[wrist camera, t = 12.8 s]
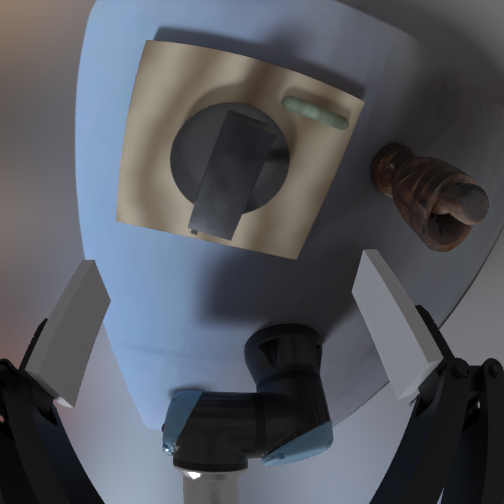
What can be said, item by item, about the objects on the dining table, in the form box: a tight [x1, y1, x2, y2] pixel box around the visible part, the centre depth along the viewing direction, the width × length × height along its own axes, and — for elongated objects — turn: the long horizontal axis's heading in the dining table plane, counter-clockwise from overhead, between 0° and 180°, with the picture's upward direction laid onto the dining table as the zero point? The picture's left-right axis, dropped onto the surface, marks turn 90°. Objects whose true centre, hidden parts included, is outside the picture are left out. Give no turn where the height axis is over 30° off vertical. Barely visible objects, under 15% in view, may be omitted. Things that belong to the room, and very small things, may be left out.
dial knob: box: [170, 102, 290, 241], centre depth 25 cm, size 14×12×8 cm
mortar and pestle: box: [371, 143, 489, 252], centre depth 23 cm, size 12×9×20 cm
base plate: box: [116, 40, 365, 260], centre depth 28 cm, size 24×22×4 cm
